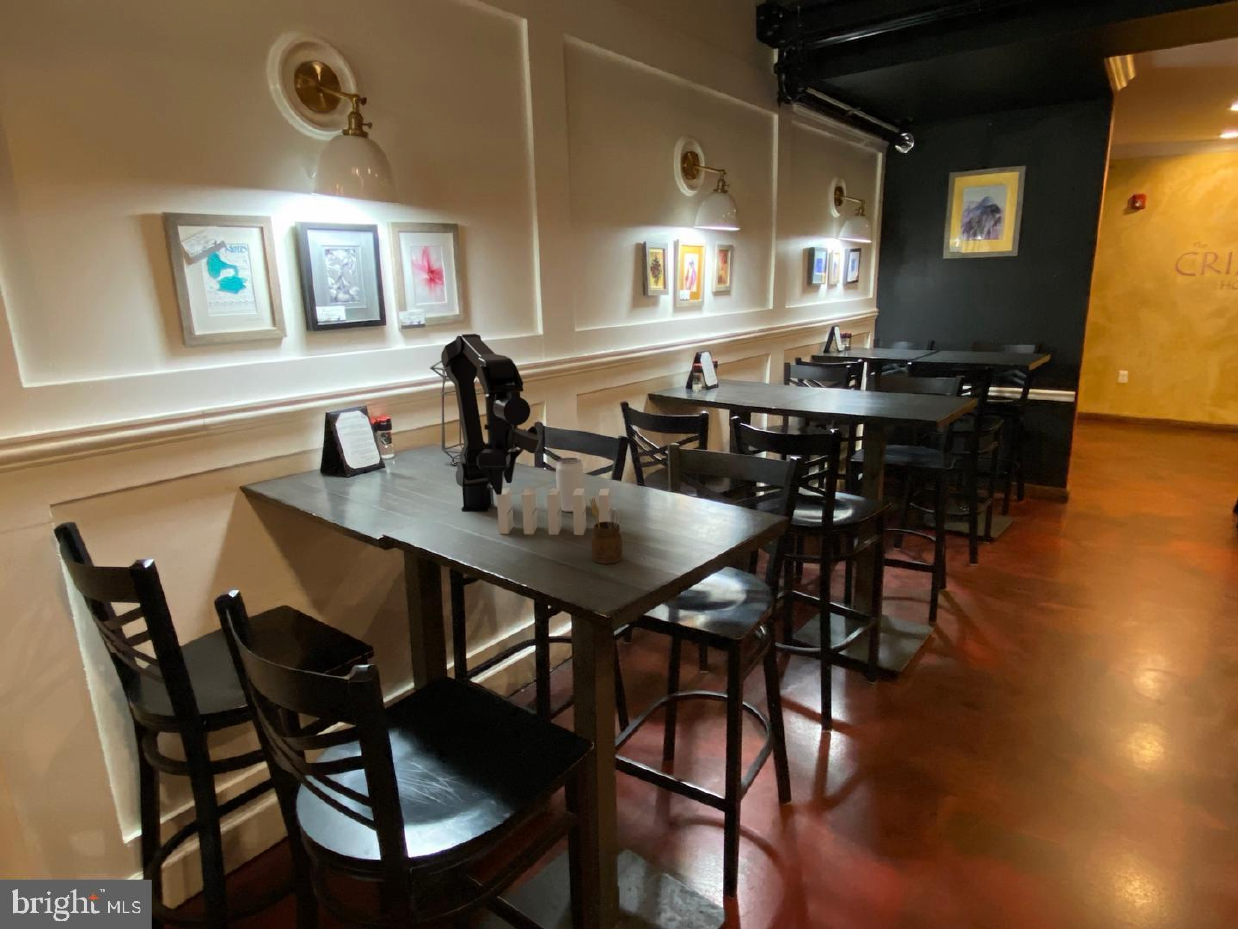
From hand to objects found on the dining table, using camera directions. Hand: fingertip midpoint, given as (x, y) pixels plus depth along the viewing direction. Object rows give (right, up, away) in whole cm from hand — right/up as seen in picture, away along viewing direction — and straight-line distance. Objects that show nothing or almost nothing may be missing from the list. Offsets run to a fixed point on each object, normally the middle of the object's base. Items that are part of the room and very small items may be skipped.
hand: (504, 488), depth 155 cm
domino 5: (+22, -9, +1) cm, 24 cm away
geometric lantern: (-21, +6, +64) cm, 67 cm away
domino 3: (+11, -9, +2) cm, 15 cm away
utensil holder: (+23, -14, -15) cm, 30 cm away
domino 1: (0, -9, +3) cm, 10 cm away
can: (+13, -6, +17) cm, 22 cm away
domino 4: (+16, -9, +1) cm, 19 cm away
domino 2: (+6, -9, +2) cm, 11 cm away
